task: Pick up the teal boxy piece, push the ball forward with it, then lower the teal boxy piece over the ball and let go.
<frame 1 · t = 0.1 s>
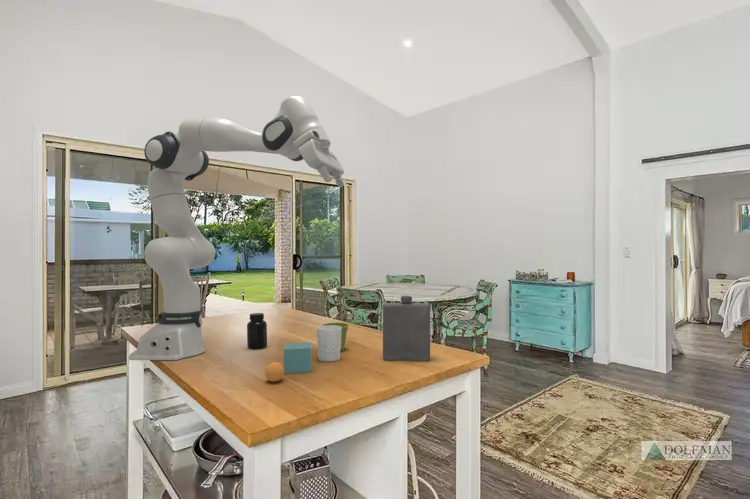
hand: (335, 183, 119), 54 cm above the worktop, tool tilted 30°, fingers open, 8 cm apart
white cup: (329, 359, 128), on the worktop
plant pot: (335, 350, 139), on the worktop
supplement bottle: (257, 348, 143), on the worktop
ball: (274, 371, 106), on the worktop
flask: (406, 359, 128), on the worktop
teal boxy piece: (297, 368, 117), on the worktop
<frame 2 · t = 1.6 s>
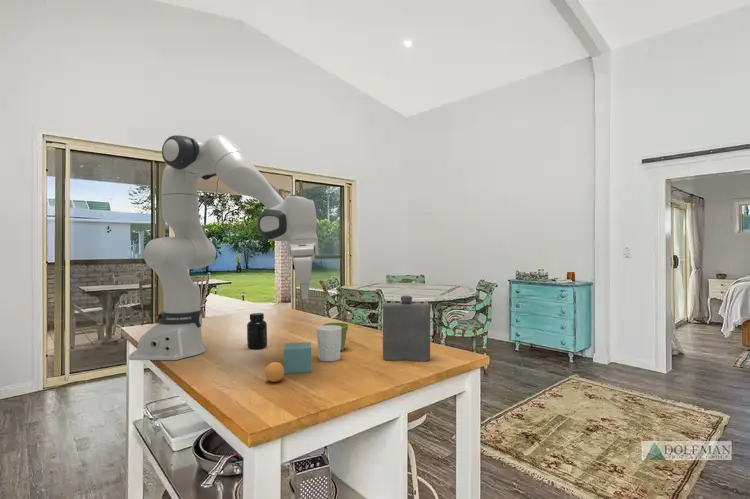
hand: (305, 297, 117), 21 cm above the worktop, tool pointing down, fingers open, 8 cm apart
nothing on the worktop moved.
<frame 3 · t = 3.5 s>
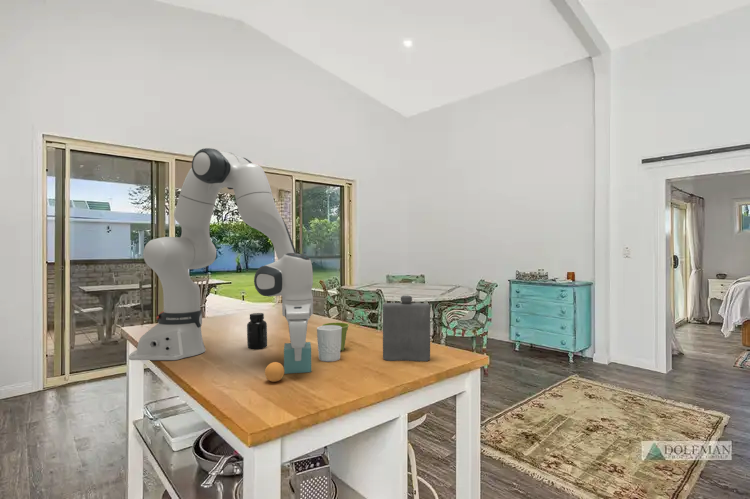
hand: (297, 356, 117), 4 cm above the worktop, tool pointing down, fingers closed on teal boxy piece, 8 cm apart
teal boxy piece: (297, 368, 117), on the worktop, touching gripper
everything else where it was.
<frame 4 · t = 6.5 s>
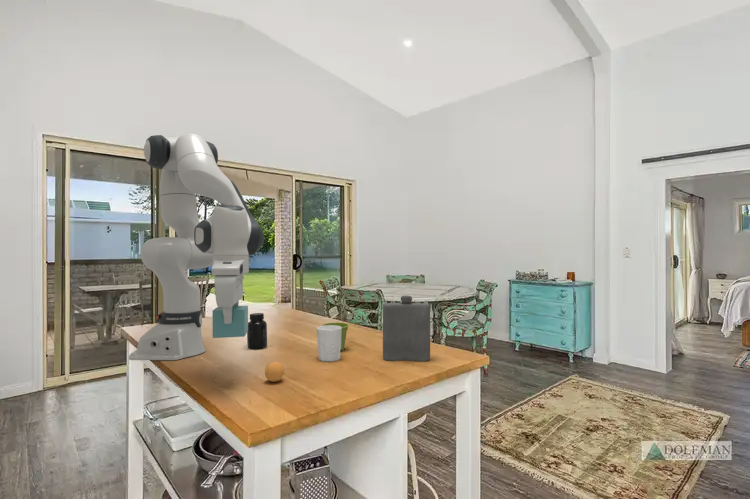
hand: (231, 320, 104), 17 cm above the worktop, tool pointing down, fingers closed on teal boxy piece, 8 cm apart
teal boxy piece: (231, 334, 104), point 13 cm above the worktop, touching gripper
everything else where it was.
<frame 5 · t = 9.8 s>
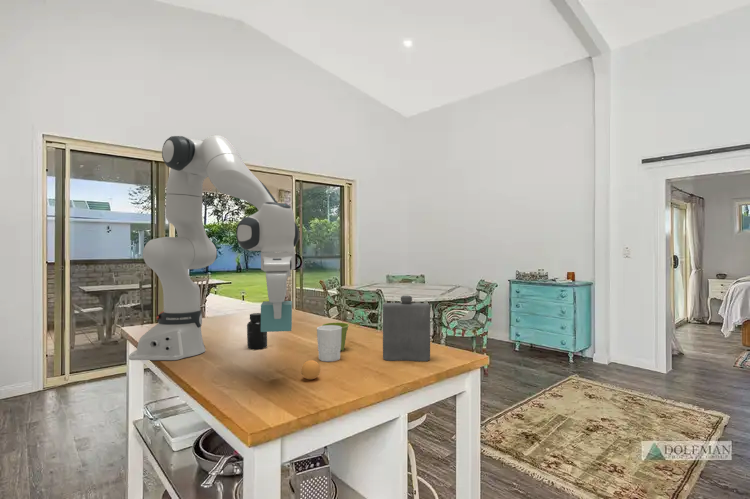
hand: (278, 315, 106), 17 cm above the worktop, tool pointing down, fingers closed on teal boxy piece, 8 cm apart
ball: (310, 369, 108), on the worktop
teal boxy piece: (276, 328, 106), point 14 cm above the worktop, touching gripper
everything else where it was.
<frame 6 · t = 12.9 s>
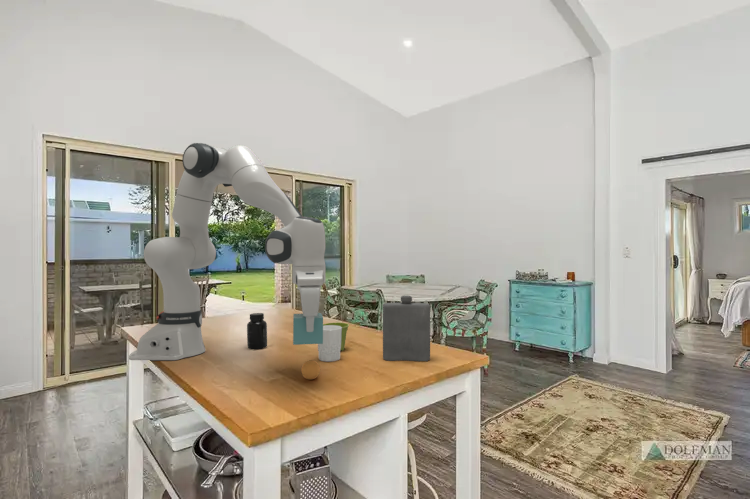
hand: (309, 328, 108), 14 cm above the worktop, tool pointing down, fingers closed on teal boxy piece, 8 cm apart
teal boxy piece: (307, 340, 108), point 10 cm above the worktop, touching gripper
everything else where it was.
when the fingers open (4 cm above the worktop, at t = 15.6 s): teal boxy piece stays where it is, on the worktop.
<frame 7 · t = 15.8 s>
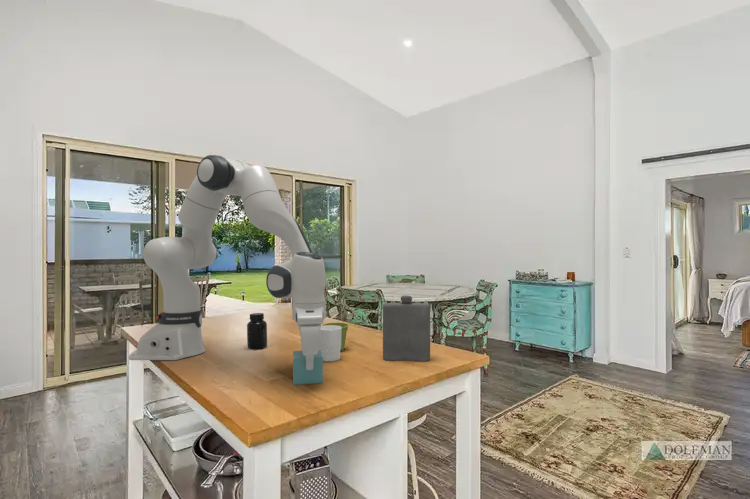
hand: (309, 363, 108), 4 cm above the worktop, tool pointing down, fingers open, 8 cm apart
teal boxy piece: (307, 379, 108), on the worktop
everything else where it was.
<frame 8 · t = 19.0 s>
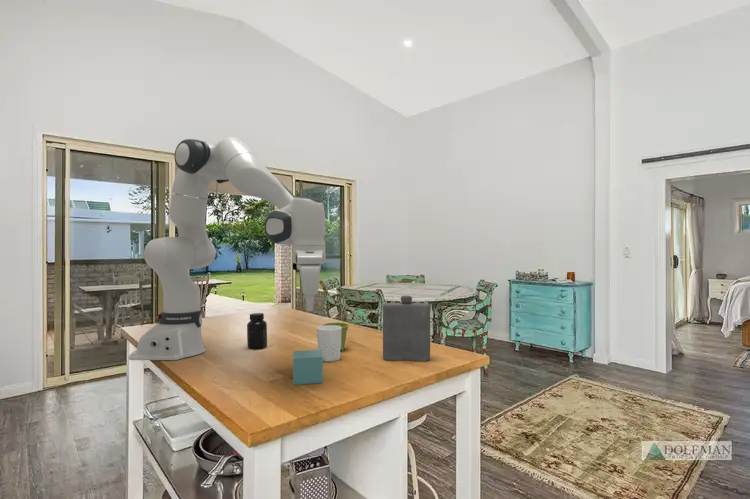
hand: (309, 308, 108), 19 cm above the worktop, tool pointing down, fingers open, 8 cm apart
nothing on the worktop moved.
at the end: ball 0.8 cm from the teal boxy piece (horizontally); teal boxy piece on the worktop; ball moved 9.4 cm from its start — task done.
